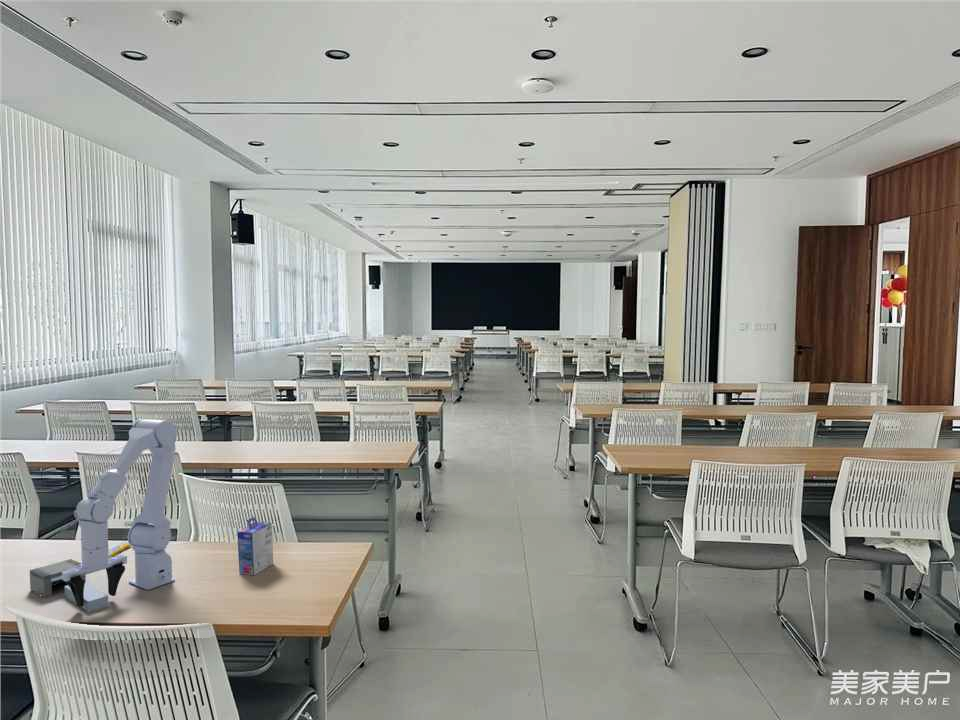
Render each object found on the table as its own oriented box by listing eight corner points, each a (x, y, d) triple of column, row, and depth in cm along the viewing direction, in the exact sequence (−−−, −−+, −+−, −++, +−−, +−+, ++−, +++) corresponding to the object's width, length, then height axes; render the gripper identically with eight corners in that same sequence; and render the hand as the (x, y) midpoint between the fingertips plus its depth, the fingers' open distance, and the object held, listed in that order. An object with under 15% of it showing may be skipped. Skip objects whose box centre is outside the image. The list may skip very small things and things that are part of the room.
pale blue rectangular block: (108, 607, 162) (108, 595, 161) (88, 613, 158) (88, 601, 158) (84, 592, 171) (83, 580, 171) (64, 597, 167) (64, 586, 167)
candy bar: (99, 567, 189) (99, 560, 189) (85, 566, 189) (85, 560, 189) (133, 547, 206) (133, 541, 206) (121, 547, 206) (121, 541, 206)
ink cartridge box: (257, 562, 192) (257, 513, 191) (274, 563, 191) (273, 514, 190) (237, 574, 182) (236, 523, 182) (254, 576, 181) (253, 524, 180)
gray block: (86, 585, 174) (86, 565, 174) (45, 598, 166) (44, 577, 166) (71, 578, 179) (70, 559, 179) (30, 590, 171) (29, 570, 170)
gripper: (116, 535, 169) (117, 586, 170) (55, 551, 157) (56, 606, 158) (130, 540, 165) (132, 593, 166) (69, 557, 153) (70, 613, 154)
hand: (96, 600), depth 161 cm, fingers open, 7 cm apart
